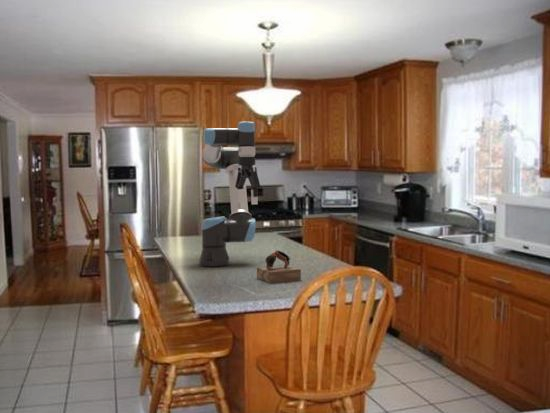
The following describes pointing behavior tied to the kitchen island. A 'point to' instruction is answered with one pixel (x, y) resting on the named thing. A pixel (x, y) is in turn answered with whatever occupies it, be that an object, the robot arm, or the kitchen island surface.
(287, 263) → the brown piece
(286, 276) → the walnut riser block
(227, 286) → the kitchen island surface
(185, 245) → the kitchen island surface
